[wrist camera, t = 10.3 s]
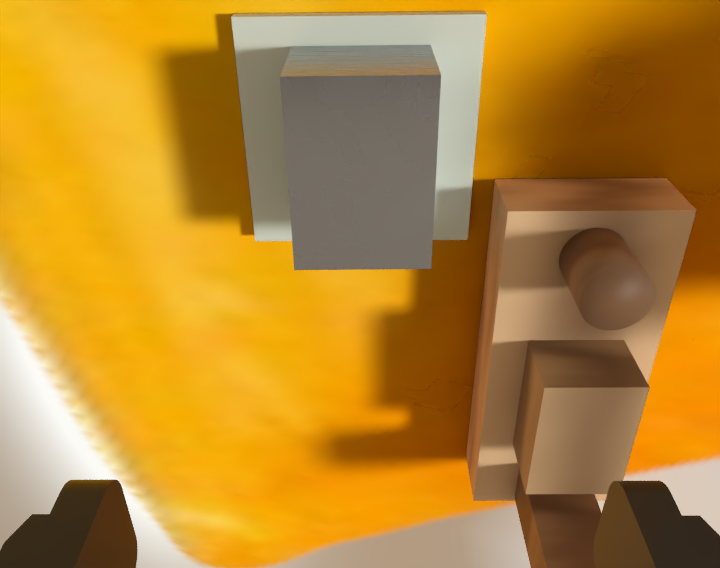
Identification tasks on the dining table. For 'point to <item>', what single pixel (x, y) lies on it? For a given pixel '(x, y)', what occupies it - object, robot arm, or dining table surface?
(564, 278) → the body
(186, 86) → the dining table surface
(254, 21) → the mat
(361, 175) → the lever cap
